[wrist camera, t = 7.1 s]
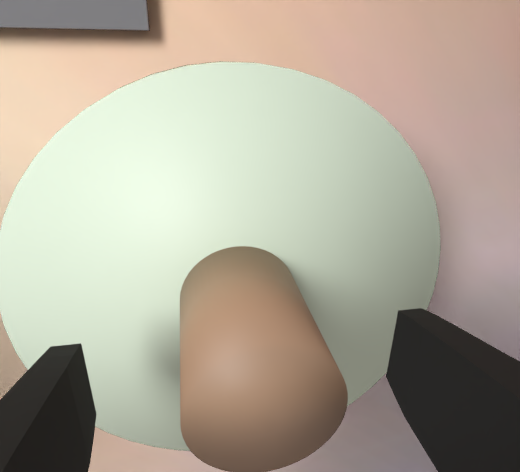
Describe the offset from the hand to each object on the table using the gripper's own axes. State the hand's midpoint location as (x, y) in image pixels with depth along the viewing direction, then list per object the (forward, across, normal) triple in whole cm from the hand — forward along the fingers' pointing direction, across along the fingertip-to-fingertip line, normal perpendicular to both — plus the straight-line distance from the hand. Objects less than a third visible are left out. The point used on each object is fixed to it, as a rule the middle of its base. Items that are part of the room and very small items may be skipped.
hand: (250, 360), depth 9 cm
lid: (+3, 0, 0) cm, 3 cm away
